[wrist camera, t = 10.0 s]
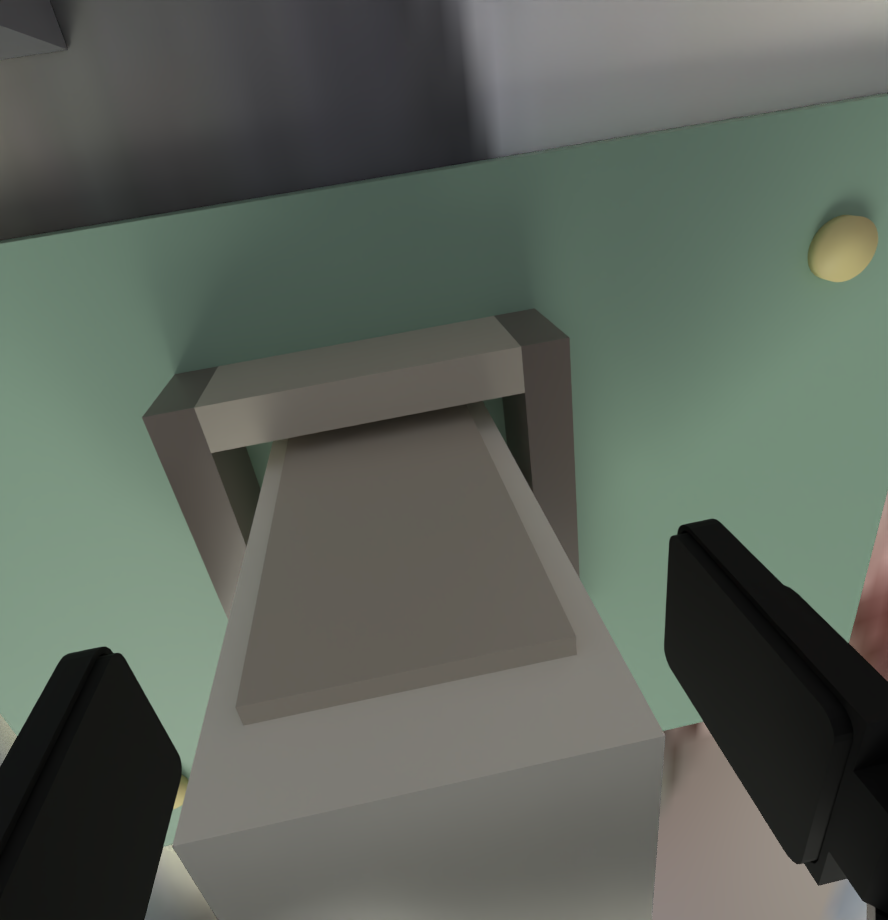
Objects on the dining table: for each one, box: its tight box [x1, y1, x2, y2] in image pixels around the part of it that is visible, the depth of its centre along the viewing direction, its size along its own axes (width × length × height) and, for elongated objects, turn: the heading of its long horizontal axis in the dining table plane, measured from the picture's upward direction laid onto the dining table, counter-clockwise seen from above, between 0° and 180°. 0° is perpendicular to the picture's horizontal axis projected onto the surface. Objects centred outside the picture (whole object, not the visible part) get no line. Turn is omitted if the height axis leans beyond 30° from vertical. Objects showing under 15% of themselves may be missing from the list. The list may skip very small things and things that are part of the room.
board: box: [0, 93, 888, 846], centre depth 14 cm, size 22×16×1 cm
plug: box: [172, 401, 665, 920], centre depth 10 cm, size 4×6×8 cm, turn 8°
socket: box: [142, 308, 580, 620], centre depth 12 cm, size 7×9×2 cm
